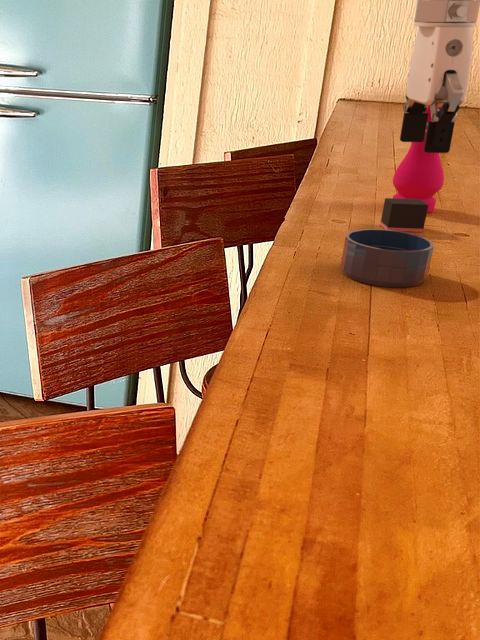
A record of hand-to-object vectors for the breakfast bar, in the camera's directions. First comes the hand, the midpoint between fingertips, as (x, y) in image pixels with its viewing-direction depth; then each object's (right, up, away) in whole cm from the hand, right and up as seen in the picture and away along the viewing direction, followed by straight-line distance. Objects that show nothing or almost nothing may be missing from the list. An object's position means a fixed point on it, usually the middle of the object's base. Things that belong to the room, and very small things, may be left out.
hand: (423, 146), depth 123 cm
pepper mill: (+6, -6, +17) cm, 19 cm away
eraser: (-1, -11, +5) cm, 12 cm away
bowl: (-12, -19, -15) cm, 27 cm away
